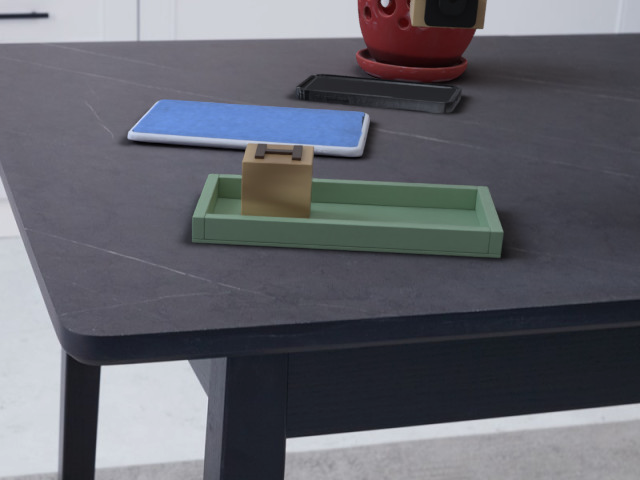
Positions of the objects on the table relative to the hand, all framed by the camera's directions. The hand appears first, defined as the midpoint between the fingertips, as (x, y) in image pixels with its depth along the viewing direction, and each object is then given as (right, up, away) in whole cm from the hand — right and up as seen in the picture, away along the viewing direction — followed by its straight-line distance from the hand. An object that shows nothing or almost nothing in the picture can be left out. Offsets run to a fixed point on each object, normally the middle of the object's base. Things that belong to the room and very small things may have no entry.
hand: (446, 16), depth 75 cm
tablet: (-12, -2, +24) cm, 27 cm away
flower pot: (+5, +9, +47) cm, 48 cm away
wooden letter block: (0, 0, 0) cm, 0 cm away
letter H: (-11, -13, +3) cm, 17 cm away
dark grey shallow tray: (0, +4, +36) cm, 37 cm away
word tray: (-6, -13, +3) cm, 15 cm away
